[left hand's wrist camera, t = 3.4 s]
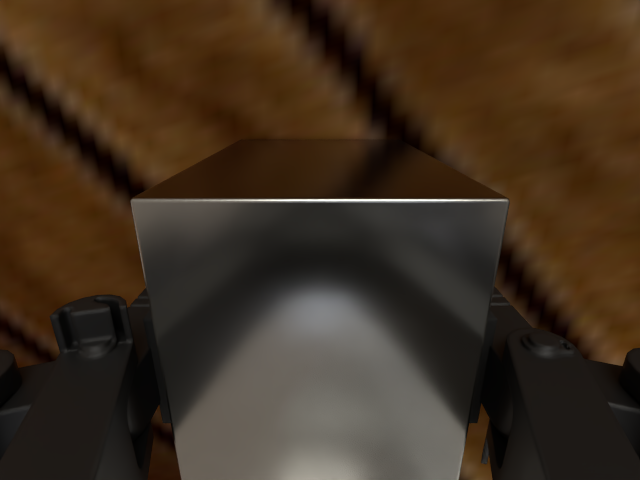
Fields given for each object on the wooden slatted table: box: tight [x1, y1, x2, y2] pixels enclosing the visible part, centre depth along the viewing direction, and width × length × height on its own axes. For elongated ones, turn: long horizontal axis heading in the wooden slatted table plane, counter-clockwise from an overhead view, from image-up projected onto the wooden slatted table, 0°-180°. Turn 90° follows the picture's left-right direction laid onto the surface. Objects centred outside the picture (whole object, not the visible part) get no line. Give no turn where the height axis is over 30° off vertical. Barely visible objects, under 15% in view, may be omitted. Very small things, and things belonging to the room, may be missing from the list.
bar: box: [130, 140, 510, 480], centre depth 13 cm, size 22×6×8 cm, turn 0°
